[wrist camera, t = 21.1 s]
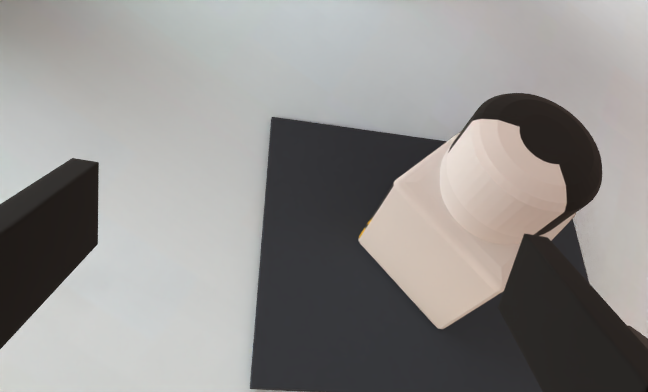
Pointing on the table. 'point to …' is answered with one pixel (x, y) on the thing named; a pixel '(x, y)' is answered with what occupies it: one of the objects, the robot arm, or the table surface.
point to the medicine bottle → (482, 203)
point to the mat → (360, 280)
